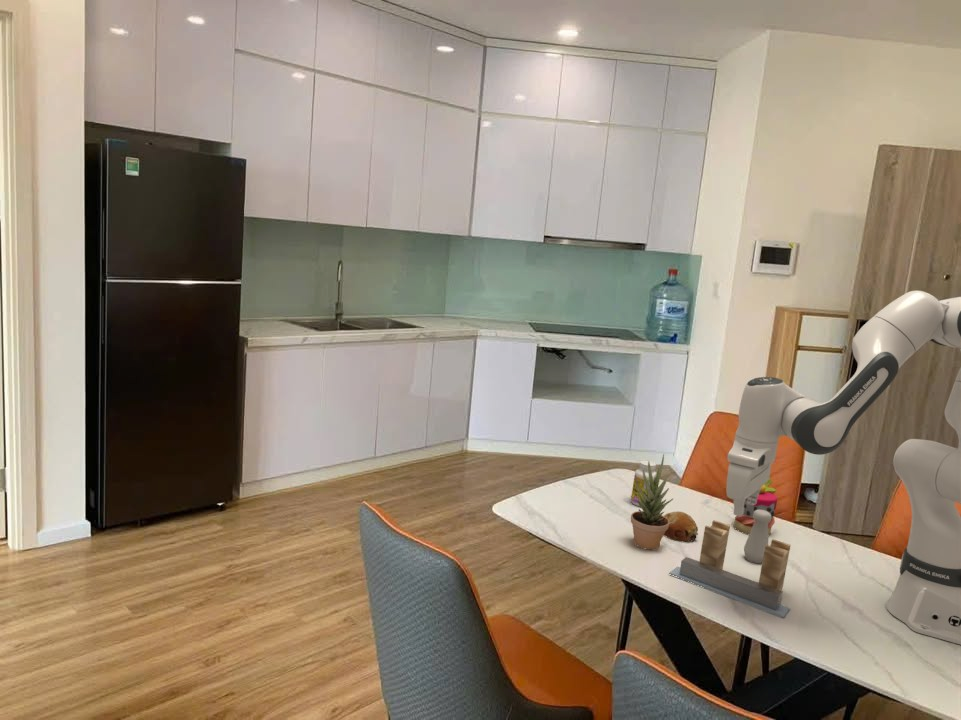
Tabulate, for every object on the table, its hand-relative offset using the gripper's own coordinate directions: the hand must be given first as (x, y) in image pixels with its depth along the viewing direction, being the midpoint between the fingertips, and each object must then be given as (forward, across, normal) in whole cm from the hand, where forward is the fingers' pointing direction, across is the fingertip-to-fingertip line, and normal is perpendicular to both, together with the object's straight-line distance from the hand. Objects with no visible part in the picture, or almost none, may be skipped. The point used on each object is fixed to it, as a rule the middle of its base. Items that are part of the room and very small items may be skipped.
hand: (745, 509), depth 161 cm
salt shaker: (+20, -22, -2) cm, 30 cm away
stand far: (+20, -7, -8) cm, 22 cm away
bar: (+19, +1, -1) cm, 19 cm away
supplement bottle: (+20, -35, -38) cm, 56 cm away
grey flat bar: (+20, +1, -1) cm, 20 cm away
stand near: (+20, -7, +6) cm, 22 cm away
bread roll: (+20, -22, -22) cm, 37 cm away
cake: (+20, -43, -8) cm, 49 cm away
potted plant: (+20, -8, -25) cm, 33 cm away
